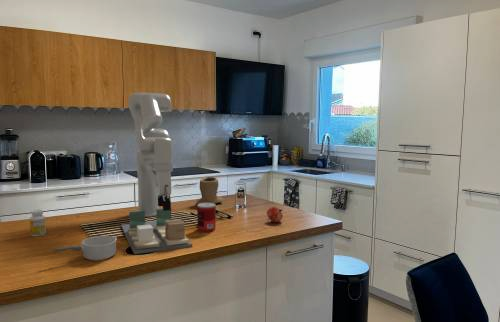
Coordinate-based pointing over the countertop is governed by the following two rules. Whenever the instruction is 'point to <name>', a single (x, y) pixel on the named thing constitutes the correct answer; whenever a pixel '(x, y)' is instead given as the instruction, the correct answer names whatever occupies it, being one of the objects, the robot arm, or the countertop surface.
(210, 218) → the canned food
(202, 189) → the stone cup
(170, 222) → the cube
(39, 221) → the supplement bottle
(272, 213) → the pomegranate
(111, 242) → the saucepan
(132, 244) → the mat
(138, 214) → the broken strip
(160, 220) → the strip
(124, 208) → the countertop surface
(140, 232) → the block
